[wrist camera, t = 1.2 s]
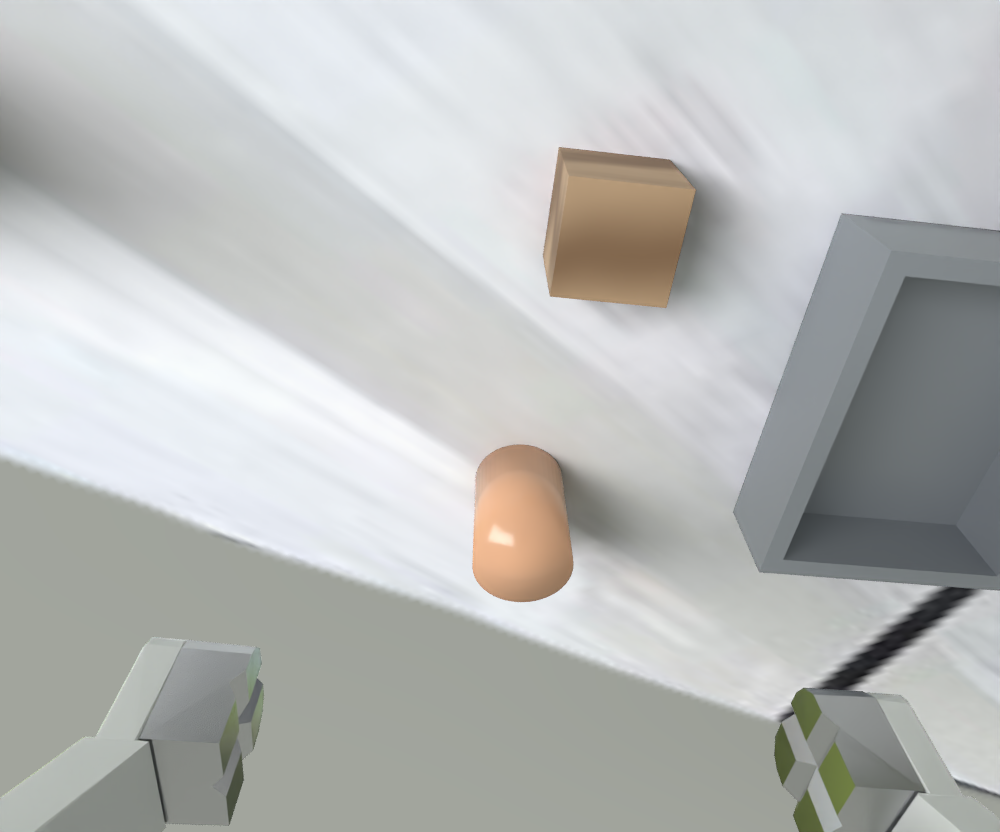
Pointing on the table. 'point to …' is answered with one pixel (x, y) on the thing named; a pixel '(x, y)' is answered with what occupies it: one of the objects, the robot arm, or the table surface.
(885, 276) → the tote
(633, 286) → the walnut cube
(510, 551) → the terracotta cylinder
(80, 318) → the table surface
